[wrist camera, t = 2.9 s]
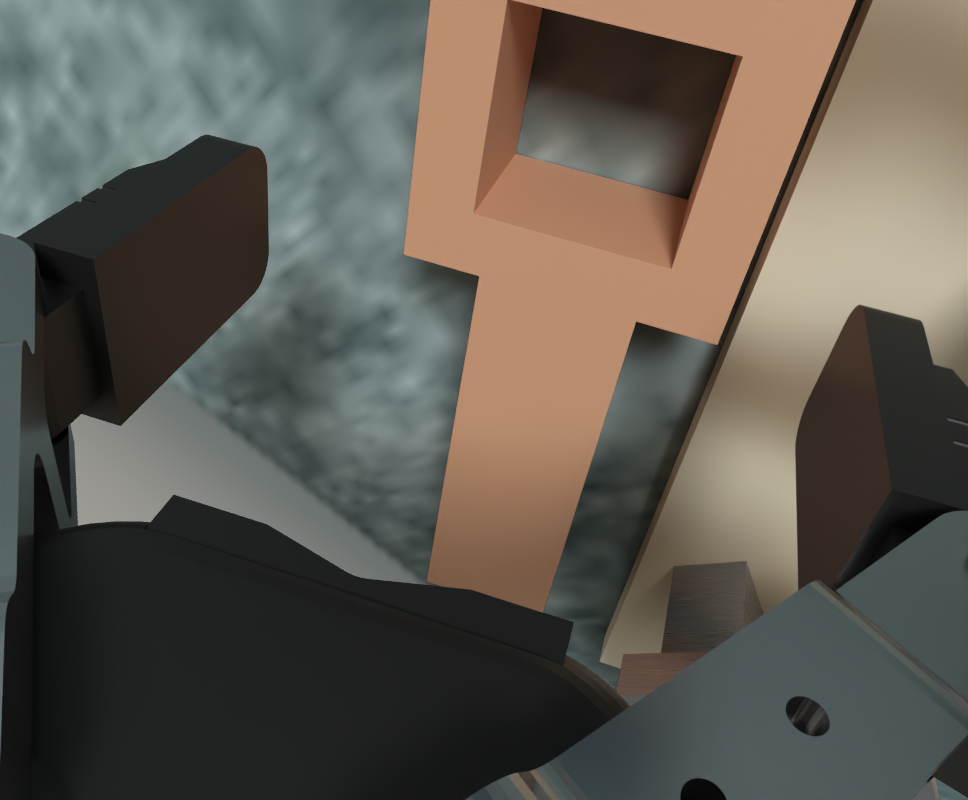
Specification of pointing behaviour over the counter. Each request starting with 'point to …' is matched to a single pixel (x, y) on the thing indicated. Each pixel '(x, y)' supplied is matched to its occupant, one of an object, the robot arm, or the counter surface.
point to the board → (821, 301)
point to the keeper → (701, 629)
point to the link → (581, 253)
